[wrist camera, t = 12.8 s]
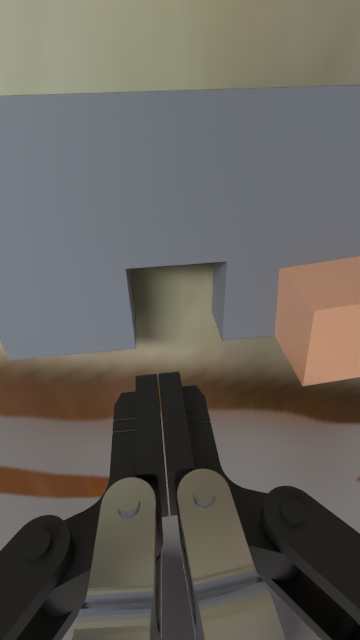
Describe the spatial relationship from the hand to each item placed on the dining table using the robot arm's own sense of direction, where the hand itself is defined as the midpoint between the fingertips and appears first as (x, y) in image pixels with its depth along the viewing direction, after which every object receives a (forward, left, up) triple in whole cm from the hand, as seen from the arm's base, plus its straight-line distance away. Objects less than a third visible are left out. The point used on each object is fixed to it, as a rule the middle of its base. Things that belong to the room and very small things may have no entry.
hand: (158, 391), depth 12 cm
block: (+1, +9, -7) cm, 11 cm away
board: (-3, +7, -10) cm, 12 cm away
